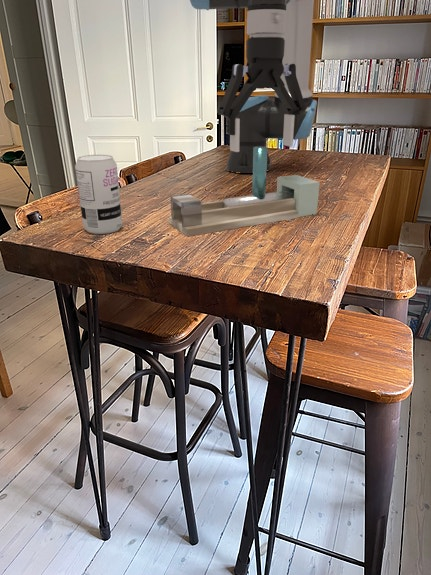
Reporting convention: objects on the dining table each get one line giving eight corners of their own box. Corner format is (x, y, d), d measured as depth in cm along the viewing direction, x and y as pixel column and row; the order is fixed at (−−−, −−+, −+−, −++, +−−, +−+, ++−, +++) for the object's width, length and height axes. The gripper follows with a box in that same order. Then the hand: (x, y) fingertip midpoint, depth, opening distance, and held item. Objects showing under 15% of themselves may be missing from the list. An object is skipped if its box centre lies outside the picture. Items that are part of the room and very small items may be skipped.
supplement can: (87, 223, 100) (78, 154, 93) (124, 222, 101) (118, 153, 94) (80, 235, 93) (69, 161, 86) (121, 234, 93) (113, 160, 87)
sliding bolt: (222, 212, 101) (222, 149, 95) (294, 201, 109) (299, 142, 103) (229, 216, 98) (229, 151, 92) (303, 204, 106) (308, 144, 101)
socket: (275, 207, 111) (277, 177, 108) (294, 204, 113) (296, 174, 110) (297, 217, 104) (300, 184, 100) (316, 213, 106) (319, 182, 103)
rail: (169, 223, 100) (167, 194, 97) (273, 207, 111) (275, 181, 108) (187, 236, 92) (186, 205, 89) (297, 217, 103) (300, 189, 100)
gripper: (218, 34, 80) (218, 156, 90) (328, 36, 90) (318, 145, 100) (200, 36, 86) (202, 150, 96) (305, 38, 96) (298, 141, 106)
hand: (261, 148), depth 98 cm, fingers open, 13 cm apart
